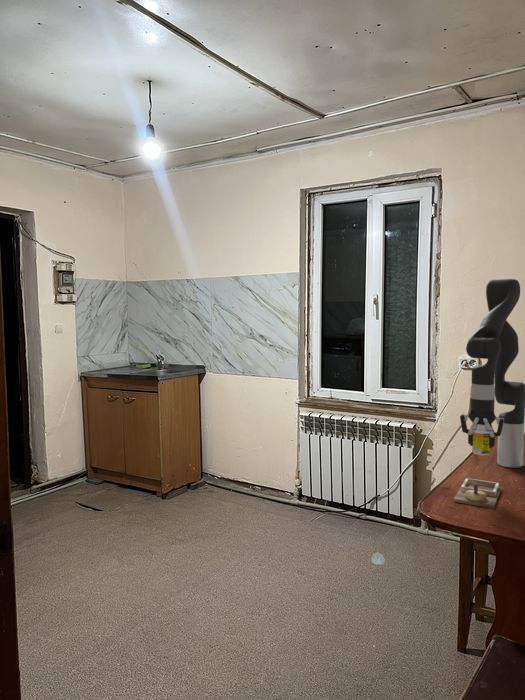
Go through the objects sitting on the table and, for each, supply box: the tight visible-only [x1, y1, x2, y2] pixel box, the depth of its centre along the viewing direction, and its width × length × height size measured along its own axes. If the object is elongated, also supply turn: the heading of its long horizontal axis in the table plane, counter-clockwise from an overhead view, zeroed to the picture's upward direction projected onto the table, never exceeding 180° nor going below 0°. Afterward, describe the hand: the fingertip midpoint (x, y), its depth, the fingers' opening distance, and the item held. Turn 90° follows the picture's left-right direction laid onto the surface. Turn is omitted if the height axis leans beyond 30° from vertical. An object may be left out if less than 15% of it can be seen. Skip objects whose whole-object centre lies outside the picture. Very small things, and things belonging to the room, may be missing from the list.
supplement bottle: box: [471, 424, 491, 456], centre depth 176 cm, size 6×6×10 cm
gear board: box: [453, 477, 502, 509], centre depth 174 cm, size 19×12×6 cm, turn 149°
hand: (481, 446), depth 176 cm, fingers closed on supplement bottle, 5 cm apart
